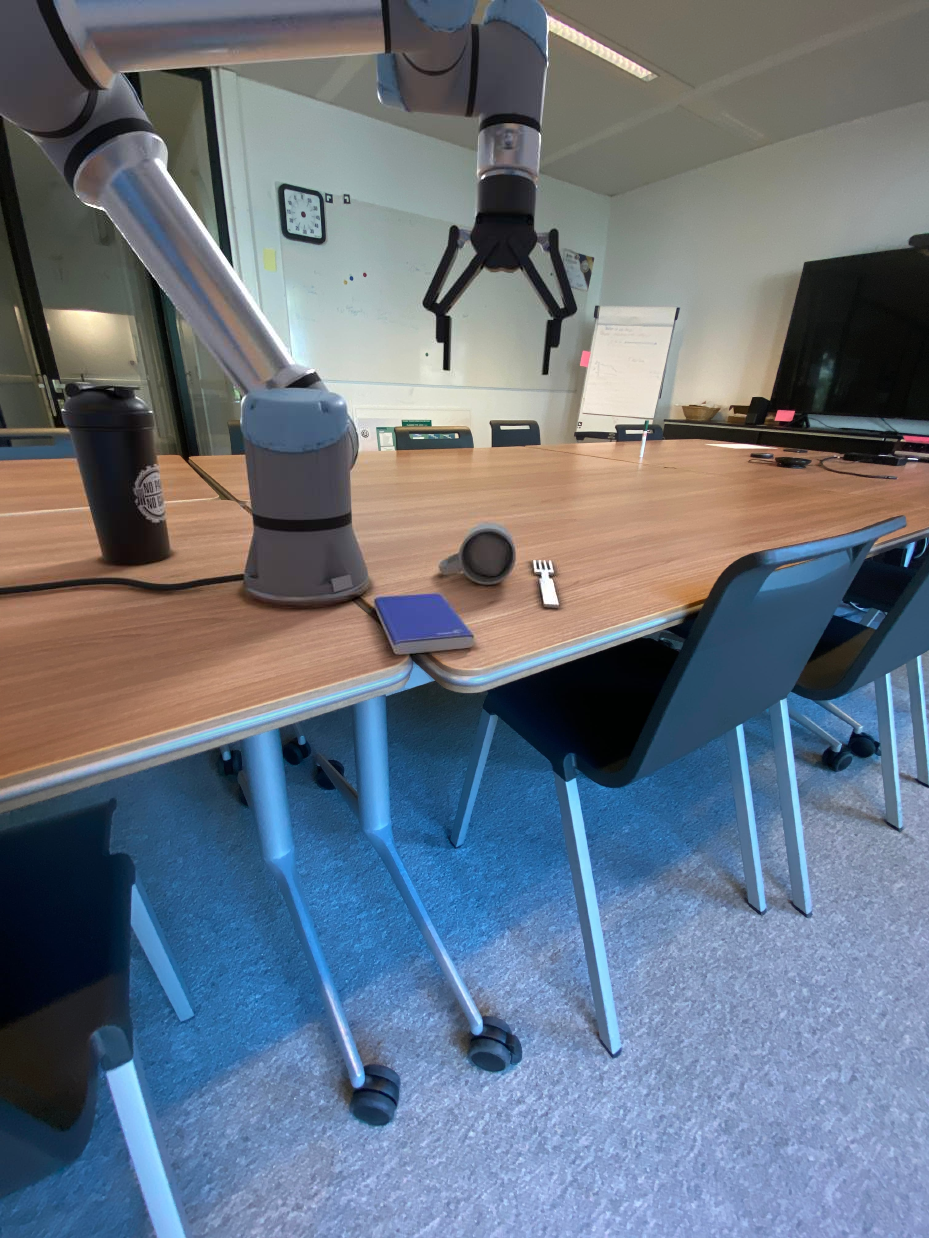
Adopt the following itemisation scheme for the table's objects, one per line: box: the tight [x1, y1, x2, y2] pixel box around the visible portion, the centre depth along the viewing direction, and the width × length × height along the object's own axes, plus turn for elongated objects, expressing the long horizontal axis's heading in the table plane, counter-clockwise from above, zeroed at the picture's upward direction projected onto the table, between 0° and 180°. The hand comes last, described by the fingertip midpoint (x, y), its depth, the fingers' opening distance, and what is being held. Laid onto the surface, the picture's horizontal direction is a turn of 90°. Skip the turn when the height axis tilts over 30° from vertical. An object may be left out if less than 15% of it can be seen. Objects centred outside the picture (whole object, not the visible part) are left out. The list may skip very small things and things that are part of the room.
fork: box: [532, 559, 560, 609], centre depth 74 cm, size 3×19×1 cm, turn 176°
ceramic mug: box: [438, 521, 517, 586], centre depth 74 cm, size 11×8×8 cm
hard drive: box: [373, 592, 475, 655], centre depth 58 cm, size 2×8×12 cm
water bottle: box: [60, 381, 172, 566], centre depth 73 cm, size 10×10×23 cm
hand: (495, 373), depth 73 cm, fingers open, 13 cm apart
